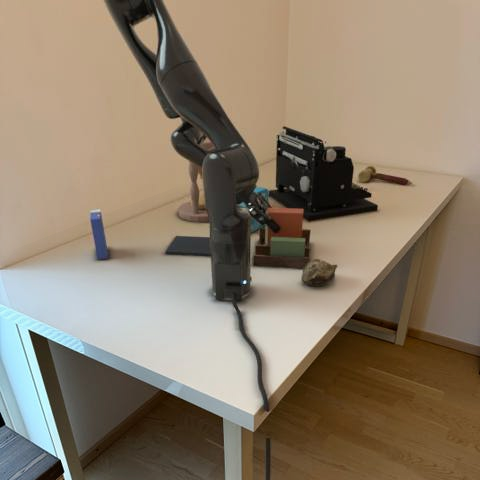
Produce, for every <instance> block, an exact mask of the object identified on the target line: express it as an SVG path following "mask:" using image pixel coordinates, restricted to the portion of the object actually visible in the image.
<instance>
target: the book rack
mask: <svg viewBox="0 0 480 480" xmlns="http://www.w3.org/2000/svg"><path fill="white" fill-rule="evenodd" d="M258 231H259V232H258V233H259V235H258V241H257V244H255V245H254V254H253V256H252V266H253V267H265V268H267V267H268V268H284V269H303V268H304V267H305V266H306V264H307V263H308V262H309V261H310V254H311V253H310V252H311V247H310V246H311V245H310V244H311V243H310V242H311V229H303V228H302V238H305V253H304V257H293V256H271V255H270V247H271V245H265V227H261V228H259V229H258Z"/></svg>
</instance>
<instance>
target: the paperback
mask: <svg viewBox="0 0 480 480" xmlns="http://www.w3.org/2000/svg"><path fill="white" fill-rule="evenodd" d="M305 247H306V245H305V238H287V237H271V247H270V255H271V256H293V257H304V253H305Z"/></svg>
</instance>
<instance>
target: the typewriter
mask: <svg viewBox="0 0 480 480" xmlns="http://www.w3.org/2000/svg"><path fill="white" fill-rule="evenodd" d="M281 129H283V130H281V132H279V133H278V134H277V135H276V150H275V151H276V154H275V155H276V157H275V188H276V189H270V190H269V189H268V191H269V198H272V199H273V200H275V201H276V202H277V203H279V204H281V205H282V206H284V208H295V209H303V220H305V221H307V222H308V223H309V222H314V221H322V220H327V219H333V218H340V217H347V216H353V215H359V214H367V213H372V212H373V213H374V212H378V207H379V205H378V204H376V203H375V202H372V201H370V200H368V199H371V198H372V192H370V191H368V190H369V188H368V187H363V186H361V185H358V184H357V183H354V182H353V181H354V180H353V179H354V173H355V166H354V163H353V160H352V158H351V157H348V156H346V149H347V148H346V146H341V145H334V146H333V145H332V146H329V145H328V146H325V144H327V141H323V140H322V139H321V138H317V137H315V135H310V134H306V133H303V132H302V131H299V130H296V129H293V128H290V127H288V126H284V125H283V127H282V128H281ZM284 130H285V132H284Z"/></svg>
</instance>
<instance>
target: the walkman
mask: <svg viewBox="0 0 480 480" xmlns="http://www.w3.org/2000/svg"><path fill="white" fill-rule="evenodd" d="M89 219H90V225H91V232H92V236H93V242H94V248H95V253H96V259H97V260H107V259H109V258H108V256H109V255H108V252H109V251H108V246H107V245H108V244H107V239H106V233H105V227H104V222H103V216H102V209H91V210H90V217H89Z"/></svg>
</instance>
